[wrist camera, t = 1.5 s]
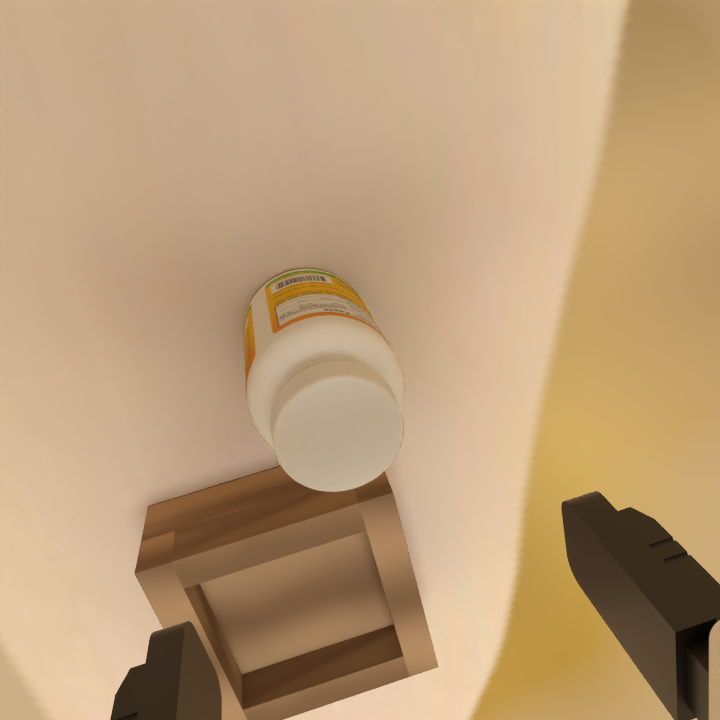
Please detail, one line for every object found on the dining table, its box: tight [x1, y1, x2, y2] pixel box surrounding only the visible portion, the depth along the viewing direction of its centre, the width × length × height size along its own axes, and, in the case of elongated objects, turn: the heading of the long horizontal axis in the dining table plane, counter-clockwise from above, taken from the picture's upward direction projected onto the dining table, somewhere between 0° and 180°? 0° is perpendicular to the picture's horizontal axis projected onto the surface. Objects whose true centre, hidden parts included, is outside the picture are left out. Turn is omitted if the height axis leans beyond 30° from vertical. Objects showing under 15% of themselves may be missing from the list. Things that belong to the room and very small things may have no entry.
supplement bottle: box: [244, 269, 404, 492], centre depth 23 cm, size 5×5×10 cm
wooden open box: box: [135, 466, 438, 720], centre depth 30 cm, size 11×11×4 cm
